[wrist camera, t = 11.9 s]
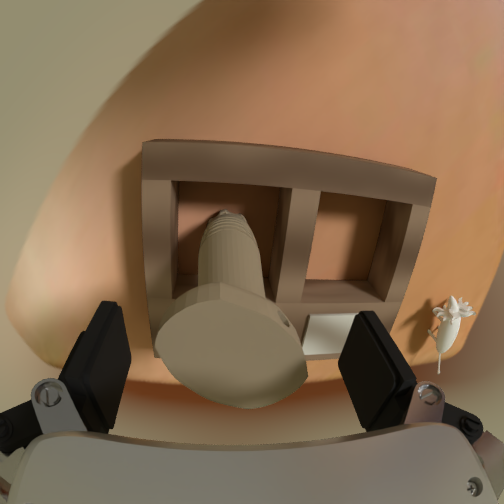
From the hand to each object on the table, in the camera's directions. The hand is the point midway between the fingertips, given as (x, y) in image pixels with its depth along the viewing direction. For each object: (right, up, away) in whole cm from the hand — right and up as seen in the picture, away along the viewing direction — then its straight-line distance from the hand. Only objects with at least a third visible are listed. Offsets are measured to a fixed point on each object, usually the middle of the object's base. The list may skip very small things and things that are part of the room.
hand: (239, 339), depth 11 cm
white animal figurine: (+24, -6, +21) cm, 33 cm away
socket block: (+3, +3, +15) cm, 15 cm away
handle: (-1, +5, +13) cm, 14 cm away
